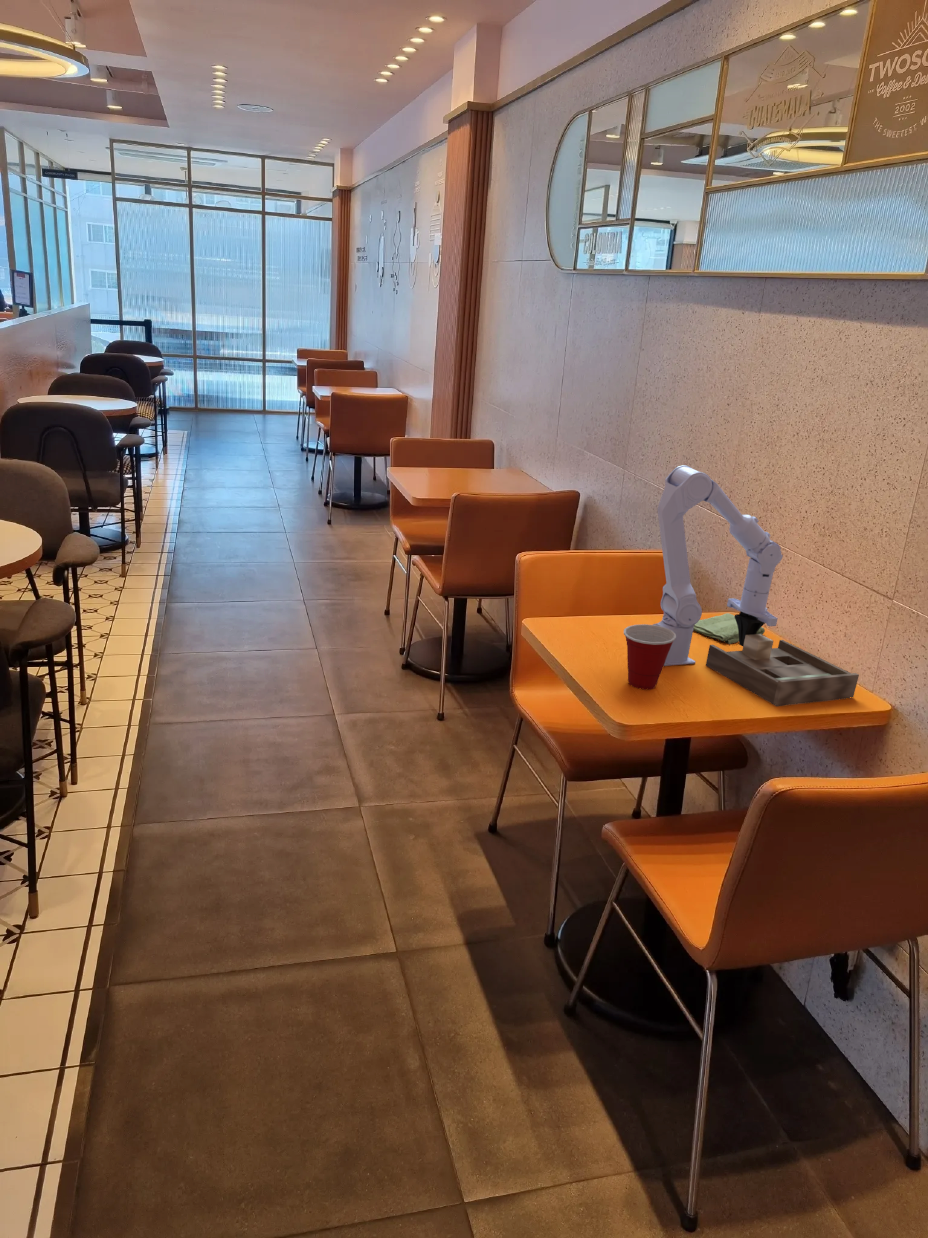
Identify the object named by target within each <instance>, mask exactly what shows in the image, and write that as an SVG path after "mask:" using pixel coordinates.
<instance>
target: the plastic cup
mask: <svg viewBox="0 0 928 1238" xmlns="http://www.w3.org/2000/svg"><path fill="white" fill-rule="evenodd" d="M623 635H624V636H625V640H626V647H627V650H626V651H627V654H626V655H627V681H628V682H629V683H628V684H629V685H630V686H631V685H632V686H631V687H633V688H635V687H636V689H639V688H641V689H640V690H644V691H645V690H646V689H647V690H653V689H655V688H656V686H657V684H658V682H659V679H660V675H661V674H662V671H663V669H664V667H665V666H664V663H665V661H666V658H667V655H668V652H669V651H670V647H671V646H672V643H673V641H674V640H675V639H676V634H675V633H674V632H673V631H672V630H669V629H667V628H665V627H660V626H656V625H653V624H646V623H644V624H643V623H642V624H633V625H628V626H627V627H625V628H624V629H623ZM647 690H646V691H647Z"/></svg>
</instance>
